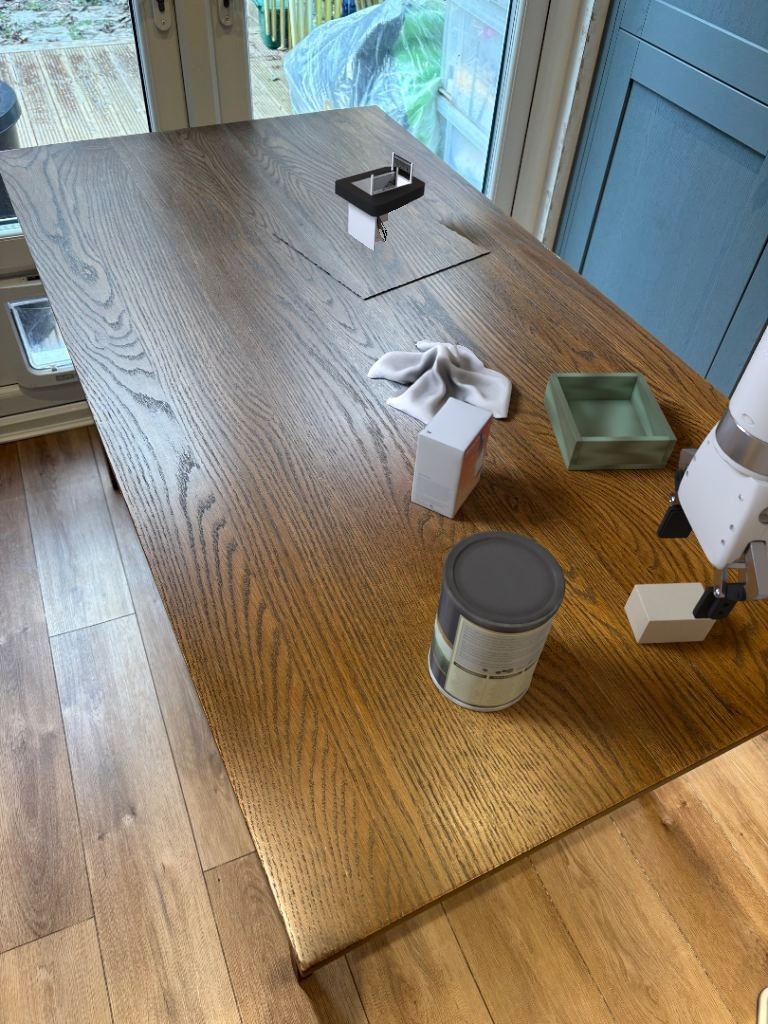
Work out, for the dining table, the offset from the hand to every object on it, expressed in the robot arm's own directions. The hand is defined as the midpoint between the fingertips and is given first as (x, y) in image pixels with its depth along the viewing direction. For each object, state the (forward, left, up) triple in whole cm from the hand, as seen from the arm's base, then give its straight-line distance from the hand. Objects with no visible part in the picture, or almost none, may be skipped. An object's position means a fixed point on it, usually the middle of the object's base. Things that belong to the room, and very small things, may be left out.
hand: (689, 573), depth 71 cm
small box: (+20, -20, -9) cm, 29 cm away
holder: (-2, -30, -9) cm, 31 cm away
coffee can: (+20, +4, -9) cm, 22 cm away
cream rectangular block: (0, 0, -9) cm, 9 cm away
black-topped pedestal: (+23, -81, -9) cm, 85 cm away
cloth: (+18, -42, -9) cm, 47 cm away
